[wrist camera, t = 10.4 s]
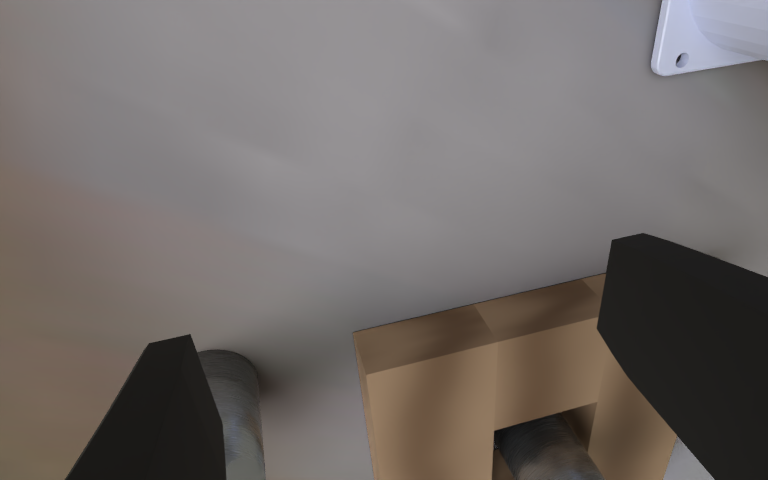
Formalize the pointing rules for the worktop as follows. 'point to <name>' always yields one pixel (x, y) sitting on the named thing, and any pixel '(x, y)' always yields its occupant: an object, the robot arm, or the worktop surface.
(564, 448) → the long pin
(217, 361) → the short pin
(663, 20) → the robot arm
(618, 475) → the hole plate
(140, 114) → the worktop surface
